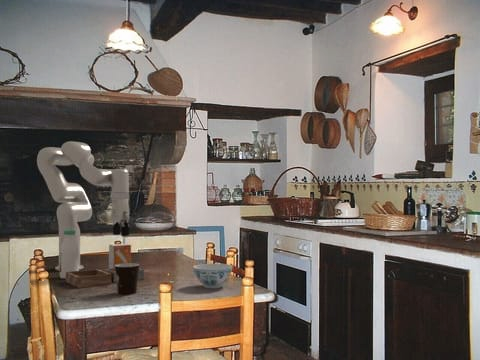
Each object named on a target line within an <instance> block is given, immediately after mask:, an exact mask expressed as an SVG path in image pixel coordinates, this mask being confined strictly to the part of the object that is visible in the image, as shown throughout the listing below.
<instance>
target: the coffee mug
mask: <svg viewBox="0 0 480 360" xmlns="http://www.w3.org/2000/svg"><path fill="white" fill-rule="evenodd" d="M139 268H140V264H139V263H132V262H131V263H126V264H117V265H115V271H116V279H117V283H116V286H117V287H116V289H117V294H118V295H120V294H121V295H122V296H126V295H127V296H128V295H130V294H131V295H135V294H137V288H138V282H139V280H138V273H139ZM121 295H120V296H121ZM131 295H130V296H131Z"/></svg>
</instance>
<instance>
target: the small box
mask: <svg viewBox="0 0 480 360" xmlns="http://www.w3.org/2000/svg"><path fill="white" fill-rule="evenodd" d="M126 263H132V244H129V243H115V244H109V245H108V269H113V268H115V265H117V264H126Z"/></svg>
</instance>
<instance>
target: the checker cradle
mask: <svg viewBox="0 0 480 360" xmlns="http://www.w3.org/2000/svg"><path fill="white" fill-rule="evenodd" d="M103 271H104V272H107V273H110V274H111V283H115V282H117V279H116V271H115V268H113V269H109V268H105V269H103ZM141 280H145V271H144V269H142V268H140V267H139V273H138V281H141Z"/></svg>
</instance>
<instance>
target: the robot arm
mask: <svg viewBox="0 0 480 360" xmlns="http://www.w3.org/2000/svg"><path fill="white" fill-rule="evenodd" d="M91 152H92V149H91V147H90V146H89V144H88V143H85V142H80V141H74V140H73V141H71V140H70V141H66V142H64V143H62V145H61V147H54V146H52V147H51V146H49V147H48V146H47V147H44V148H42V149H40V150H39V152H38V154H37V158H36V163H37V164H36V165H37V168H38V170H39V172H40V174H41V175H42V177H43V179H44V180H45V183H46V185H47V188H48V190H49V192H50V194H51V197H52V199H53V201H55V202H56V203H60V204H59V205H58V206H57V209H56V218H57V223H58V265H57V266H55V271H59V272H60V249H61V246H62V244H63V241H64V231H66V230H74V231H75V241H76V243H77V245H78V249H79V271H81V270H83V269H84V265H83V264H81V229H80V226H79V224H78V223H79V222H86V221H89V220H90V219H91V218H92V216H93V208H92V205H91V203H90V201H89V198H88V196H87V194H86V192H85V189H84V188H83V187H82V185H80V184H78V183H76V182H68V181H67V180H66V178H65V176H64V174H63V172H62V171H61V170H60V169H59V168H58V167H57V166H63V167H64V166H65V167H67V166H71V165H74V166H75V167H77V168H78V170H79V173H80V175H81V177H82V178H83V179H85V180H86V181H87V182H88V183H90V184H92V185H93V186H98V187H111V211H110V214H111V216H110V221H111V222H112V235H113V236H117V235H119V236H120V235H121V236H122V237H125V236H127V237H128V236H130V218H131V216H130V207H129V200H130V187H129V183H130V181H129V180H130V179H129V176H130V175H129V170H128V169H125V168H115V169H107V168H105V169H103V168H97V167H96V166H94V163H95V157H94V155H93V154H92V153H91ZM120 224H121V225H120Z"/></svg>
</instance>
